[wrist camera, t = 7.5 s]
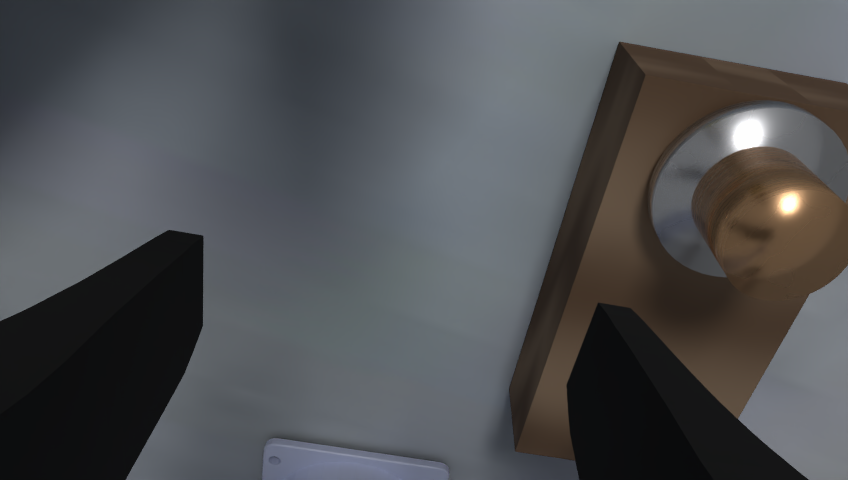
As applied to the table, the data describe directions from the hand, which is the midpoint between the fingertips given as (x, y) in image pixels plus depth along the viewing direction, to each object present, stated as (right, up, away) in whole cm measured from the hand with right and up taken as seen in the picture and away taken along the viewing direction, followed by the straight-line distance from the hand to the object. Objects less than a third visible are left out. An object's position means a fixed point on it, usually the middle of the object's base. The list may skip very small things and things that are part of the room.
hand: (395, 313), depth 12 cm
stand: (+9, +1, +11) cm, 14 cm away
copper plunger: (+9, +5, +9) cm, 14 cm away
